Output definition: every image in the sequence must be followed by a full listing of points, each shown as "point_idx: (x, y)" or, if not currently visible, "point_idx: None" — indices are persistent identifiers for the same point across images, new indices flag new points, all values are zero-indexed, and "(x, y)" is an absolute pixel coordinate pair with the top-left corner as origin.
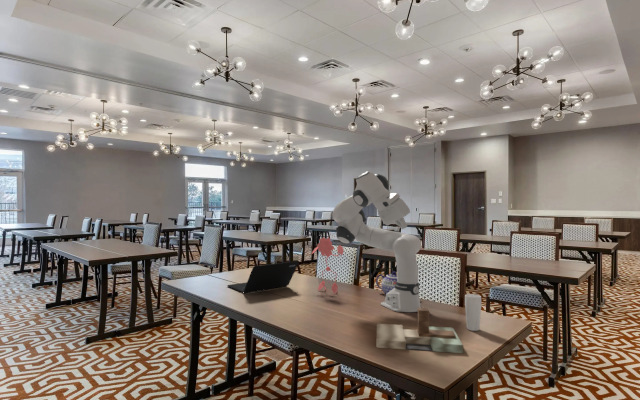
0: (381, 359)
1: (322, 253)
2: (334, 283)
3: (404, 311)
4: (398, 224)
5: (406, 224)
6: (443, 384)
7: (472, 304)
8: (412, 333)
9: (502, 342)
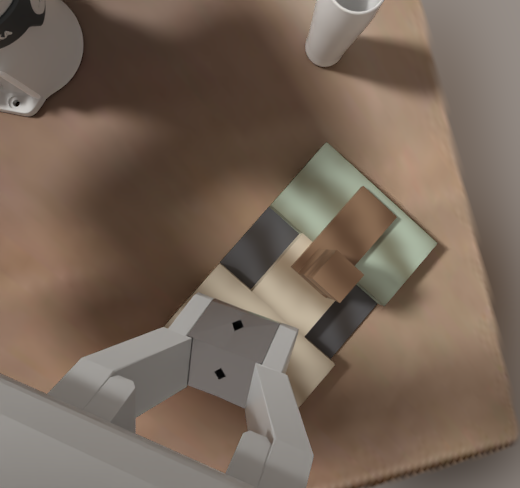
0: (344, 459)
1: None
2: None
3: (56, 90)
4: (149, 403)
5: (292, 346)
6: (510, 426)
7: (364, 26)
8: (297, 296)
9: (435, 79)
